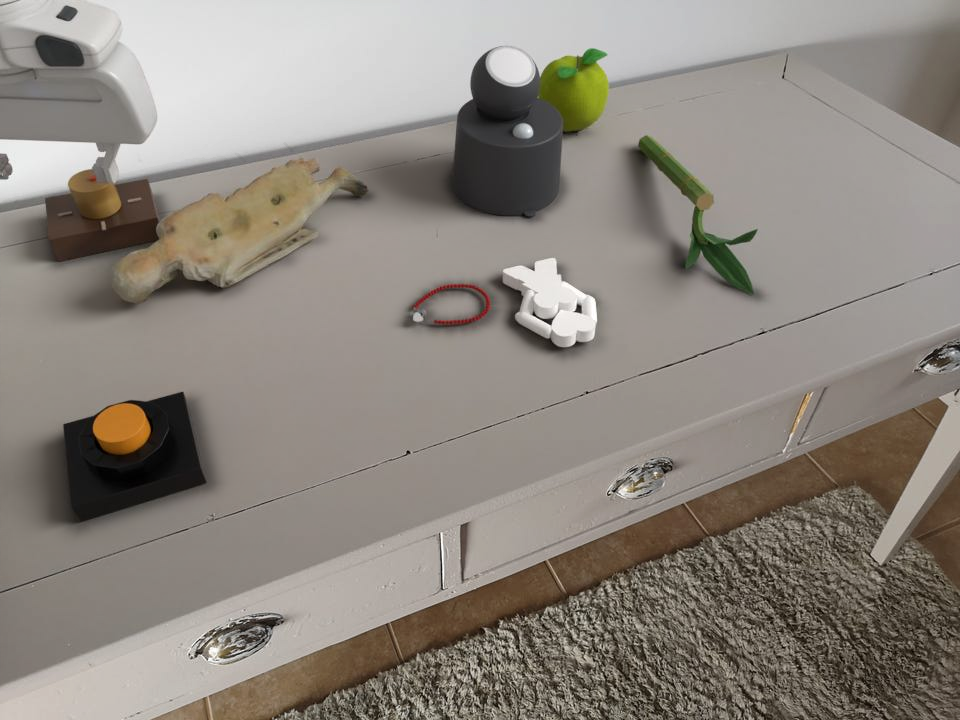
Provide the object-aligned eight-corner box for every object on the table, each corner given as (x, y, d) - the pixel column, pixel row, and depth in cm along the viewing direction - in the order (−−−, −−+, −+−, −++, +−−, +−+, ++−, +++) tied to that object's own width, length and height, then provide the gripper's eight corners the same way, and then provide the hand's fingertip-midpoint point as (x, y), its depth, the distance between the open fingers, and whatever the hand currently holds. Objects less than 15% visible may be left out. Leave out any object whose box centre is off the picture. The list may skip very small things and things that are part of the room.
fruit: (616, 128, 107) (629, 58, 99) (568, 151, 102) (578, 79, 95) (569, 101, 111) (578, 32, 104) (521, 122, 107) (527, 51, 100)
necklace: (417, 335, 78) (417, 328, 77) (401, 297, 82) (400, 289, 81) (498, 317, 80) (498, 310, 79) (478, 280, 84) (479, 273, 83)
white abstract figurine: (538, 355, 76) (539, 338, 75) (491, 288, 84) (491, 272, 83) (617, 333, 79) (620, 316, 77) (564, 270, 87) (565, 254, 86)
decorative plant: (675, 131, 102) (790, 231, 78) (658, 190, 107) (761, 302, 83) (632, 127, 101) (735, 227, 77) (616, 187, 105) (709, 299, 81)
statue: (315, 150, 95) (104, 294, 82) (317, 109, 89) (89, 258, 75) (375, 204, 94) (171, 359, 80) (382, 167, 87) (161, 328, 74)
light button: (102, 461, 62) (95, 448, 61) (97, 424, 65) (90, 411, 63) (154, 446, 63) (148, 433, 62) (147, 410, 66) (141, 397, 65)
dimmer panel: (59, 263, 84) (48, 240, 81) (54, 218, 89) (43, 195, 87) (165, 240, 87) (157, 217, 84) (154, 198, 92) (146, 175, 90)
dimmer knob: (80, 222, 84) (67, 193, 81) (77, 199, 86) (65, 170, 84) (123, 214, 85) (112, 185, 82) (119, 192, 88) (109, 163, 85)
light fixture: (486, 103, 78) (435, 42, 87) (480, 230, 90) (436, 165, 99) (601, 81, 82) (541, 25, 91) (581, 206, 94) (530, 145, 103)
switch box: (80, 522, 62) (62, 495, 59) (71, 439, 68) (54, 410, 65) (207, 483, 65) (195, 455, 62) (189, 406, 71) (178, 377, 68)
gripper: (-168, 36, 57) (-81, 194, 67) (115, 48, 59) (159, 202, 69) (-124, 1, 62) (-48, 154, 72) (138, 13, 63) (177, 162, 73)
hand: (55, 177), depth 70 cm, fingers open, 8 cm apart
